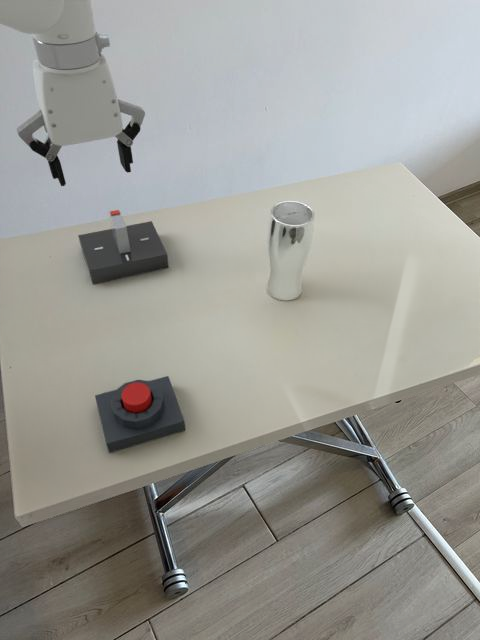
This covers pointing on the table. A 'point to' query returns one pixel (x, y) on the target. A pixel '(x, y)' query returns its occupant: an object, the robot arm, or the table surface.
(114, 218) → the hob knob
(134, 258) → the panel
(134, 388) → the stop button
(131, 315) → the table surface
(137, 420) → the stop block
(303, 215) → the beer glass
